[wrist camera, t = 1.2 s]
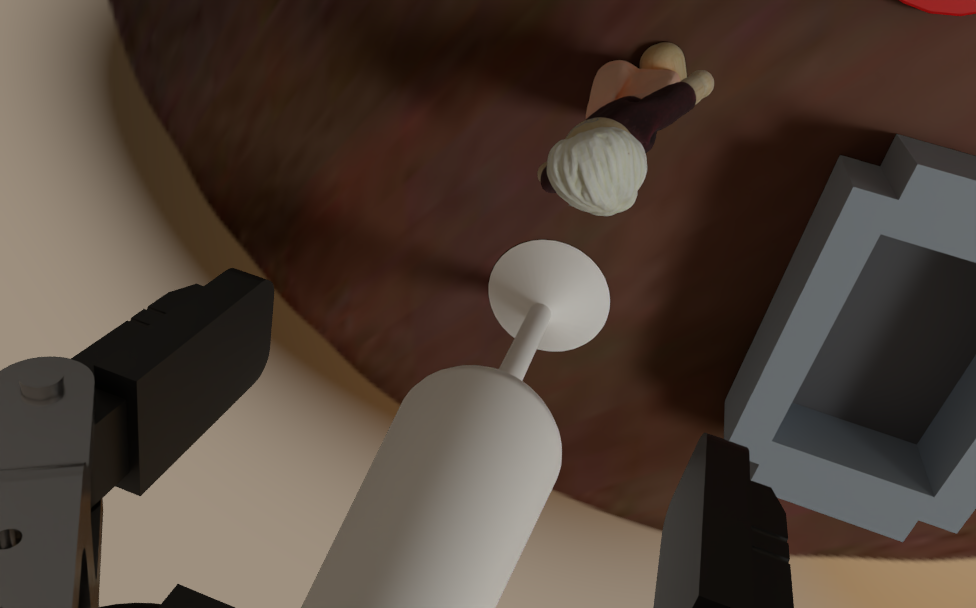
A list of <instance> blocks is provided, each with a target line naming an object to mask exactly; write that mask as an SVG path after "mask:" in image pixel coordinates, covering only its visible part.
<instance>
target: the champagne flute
mask: <svg viewBox="0 0 976 608" xmlns="http://www.w3.org/2000/svg"><path fill="white" fill-rule="evenodd" d="M488 286H489V300H490V305H491V308H492V310H493V312H494V315H495V317H496V318H497V320H498V321H499V323H500V324H501V326H502V327H503V328H504V329H505V330H506V331H507V332H508V333H509V334H510V335H511V336H513V337H514V338H515V339H514V341H513V343H512V345H511V347H510V348H509V350H508V352H507V354H506V356H505V358H504V360H503V362H502V364H501V366H500V368H499V370H498V369H495V368H492V367H486V366H479V365H464V366H457V367H452V368H448V369H443V370H440V371H438V372H435V373H433V374H431V375H429V376H427V377H426V378H425V379H423V380H422V381H421V382H419V383H418V384H417V385H416V386H414V387H413V388H412V389H411V390H410V391H409V393H408V394H407V395H406V397H405V398H404V400H403V402H402V404H401V406H400V408H399V410H398V412H397V414H396V416H395V418H394V420H393V422H392V424H391V426H390V428H389V430H388V432H387V434H386V436H385V438H384V440H383V443H382V444H381V446H380V449H379V450H378V452H377V455H376V457H375V459H374V461H373V463H372V465H371V467H370V469H369V471H368V473H367V475H366V477H365V479H364V481H363V483H362V485H361V487H360V489H359V491H358V493H357V495H356V498H355V499H354V501H353V503H352V505H351V507H350V510H349V512H348V513H347V516H346V518H345V520H344V522H343V524H342V526H341V528H340V530H339V532H338V534H337V536H336V538H335V540H334V542H333V544H332V546H331V548H330V550H329V552H328V554H327V556H326V558H325V560H324V562H323V564H322V567H321V568H320V571H319V572H318V574H317V577H316V579H315V581H314V583H313V585H312V587H311V589H310V591H309V593H308V595H307V597H306V599H305V601H304V603H303V605H302V607H301V608H496V606H497V604H498V602H499V600H500V597H501V595H502V593H503V591H504V589H505V587H506V585H507V583H508V580H509V578H510V576H511V574H512V572H513V570H514V568H515V566H516V563H517V562H518V559H519V557H520V555H521V553H522V551H523V549H524V547H525V545H526V543H527V540H528V538H529V536H530V534H531V532H532V530H533V528H534V526H535V524H536V522H537V520H538V517H539V515H540V513H541V511H542V509H543V507H544V505H545V503H546V501H547V499H548V496H549V494H550V492H551V490H552V488H553V486H554V484H555V482H556V480H557V477H558V474H559V471H560V468H561V458H562V444H561V439H560V434H559V430H558V428H557V425H556V423H555V421H554V418H553V416H552V414H551V412H550V411H549V409H548V407H547V406H546V405H545V403H544V402H543V400H542V399H541V398H540V397H539V395H538V394H537V393H536V392H535V391H534V390H533V389H532V388H531V387H529V386H528V385H527V384H525V383H524V382H523V381H522V380H523V378H524V376H525V373H526V371H527V369H528V367H529V365H530V362H531V360H532V358H533V356H534V354H535V351H536V349H539V350H545V351H566V350H571V349H575V348H577V347H580V346H582V345H584V344H586V343H587V342H589V341H590V340H592V339H593V338H594V337H595V336H596V335H597V334H598V333H599V332H600V331H601V329H602V327H603V326H604V324H605V322H606V320H607V317H608V313H609V309H610V295H609V288H608V286H607V283H606V280H605V277H604V276H603V274H602V272H601V271H600V269H599V268H598V266H597V265H596V264H595V263H594V262H593V261H592V260H591V259H590V258H589V257H588V256H587V255H585V254H584V253H583V252H581V251H580V250H578V249H576V248H574V247H572V246H570V245H568V244H565V243H561V242H558V241H552V240H534V241H529V242H525V243H522V244H519V245H517V246H515V247H513V248H511V249H510V250H509V251H507V252H506V253H505V254H504V255H503V256H502V257H501V258H500V259H499V260H498V262H497V263H496V264H495V266H494V268H493V271H492V273H491V275H490V280H489V285H488Z"/></svg>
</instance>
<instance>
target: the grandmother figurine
mask: <svg viewBox="0 0 976 608" xmlns="http://www.w3.org/2000/svg"><path fill="white" fill-rule="evenodd" d="M639 67H640V69H639V68H637V67H636V66H634V65H633V64H631V63H629V62H627V61H623V60H615V61H611V62H608V63H606V64H605V65H603V66H602V67H601V68H600V69H599V70H598V72H597V74H596V76H595V78H594V81H593V85H592V89H591V93H590V99H589V103H588V106H587V112H586V120H585V121H583V122H581V123H579V124H578V125H577V126H575V127H574V128H573V129H572V130H571V131H570V133H569V134H568V135H567V137H566V139H565V140H561V141H559V142H558V143H557V144H556V145H554V147H553V148H552V149H551V150H550V152H549V155H548V162H546V163H543V164H542V165H541V166H540V167H539V169H538V179H539V181H540V182H541V185H542V188H543V189H544V190H545V191H546V192H549V193H557V194H558V195H559V196H560V197H561V198H563V199H564V200H565V201H567V202H568V203H569V205H570V206H573V207H575V208H577V209H579V210H582V211H586V212H589V213H591V214H593V215H597V216H611V215H614V214H615V213H618V212H622V211H625V210H627V209H628V208H630V207H631V206H632V205H633V204H634V202H635V200H636V197H637V190H638V189H639V188H640V186H641V185H642V183H643V181H644V179H645V176H646V172H647V163H646V161H647V159H646V154H645V153H647V152H648V151H649V150H650V149H651V148H652V147H653V145H654V142H655V138H656V134H657V131H658V130H661V129H663V128H665V127H667V126H669V125H670V124H672V123H673V122H674V121H676V120H677V119H678V118H680V117H681V116H682V115H684V114H686V113H687V112H688V111H690V110H691V109H693V107H694V106H695V105H696V104H697V103H698V102H699V101H700V100H701V99H702V98H704V97H706V96H708V95H709V94H710V93H711V92H712V90H713V88H714V79H713V77H712V75H711V74H710V73H709V72H707V71H705V70H698V71H695V72H693V73H692V74H691V75H690V76H689V77H687V74H686V65H685V59H684V55H683V52H682V51H681V49H680V48H679V47H678V46H677V45H675V44H673V43H669V42H662V43H658V44H655V45H653V46H651V47H649V48H648V49H647V50H646V51H645V52H644V53H643V55H642V56H641V59H640V66H639Z"/></svg>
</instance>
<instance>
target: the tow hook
mask: <svg viewBox="0 0 976 608" xmlns="http://www.w3.org/2000/svg"><path fill="white" fill-rule="evenodd" d="M898 1H900V2H902V3H904V4H907V5H910V6H912V7H915V8H917V9H920V10H922V11H925V12H928V13H932V14H943V15H954V16H963V15H970V14H976V0H898Z"/></svg>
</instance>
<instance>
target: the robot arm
mask: <svg viewBox="0 0 976 608" xmlns="http://www.w3.org/2000/svg"><path fill="white" fill-rule="evenodd" d="M273 301H274V287H273V284H272V282H271V281H269V280H266V279H263V278H261V277H258V276H255V275H252V274H249V273H246V272H243V271H240V270H237V269H234V268H230V269H228V270H226V271H225V272H223V273H222V274H220V275H219V276H218V277H216V278H215V279H214V280H212V281H211V282H209V283H208V284H207V285H205V286H201V285H199V284H195V285H191V286H188V287H185V288H181V289H178V290H175V291H172V292H168V293H167V294H166V295H164V296H163V297H161V298H160V299H158V300H157V301H155V302H154V303H152V304H151V305H149V306H148V309H147V310H145V309H143V310H142V311H141V312H139V313H138V314H136V315H135V316H133V317H132V318H131V321H126V322H125V323H123V324H122V325H120V326H119V327H117V328H116V329H114V330H113V331H111V332H110V333H108V334H107V335H105V336H104V337H102V338H101V339H99V340H98V341H96V342H95V343H94V344H92V345H91V346H89V347H88V348H86V349H85V350H83V351H82V352H80V353H79V354H77V355H76V356H74V357H73V358H71V359H68V358H62V357H37V358H32V359H27V360H23V361H20V362H17V363H15V364H12V365H10V366H8V367H6V368H4V369H3V370H1V371H0V608H235V607H232V606H230V605H227V604H225V603H223V602H220V601H218V600H215V599H213V598H211V597H208V596H206V595H203V594H201V593H199V592H196V591H194V590H191V589H189V588H187V587H184V586H182V585H179V584H177V586H176V587H175V588H174V589H173V590H172V592H171V593H170V594H169V595H168V597H167V598H166V599H165V600H164V601H163V603H162V604H154V603H128V604H115V605H109V606H104V607H99V584H100V563H101V543H102V522H103V500H102V498H103V497H104V496H105V495H106V494H107V493H108V492H109V491H110V490H111V489H112V488H113V487H114V486H116V487H119V488H122V489H124V490H126V491H129V492H131V493H134V494H136V495H139V496H141V495H142V494H143V493H144V492H145V491H146V490H147V489H148V488H149V487H150V486H151V485H152V484H153V483H154V482H155V481H156V480H157V479H158V478H159V477H160V476H161V475H162V474H163V473H164V472H165V471H166V470H167V469H168V468H169V467H170V466H171V465H172V464H173V463H174V462H175V461H176V460H177V459H178V458H179V457H180V456H181V455H182V454H183V453H184V452H185V451H187V450H188V449H189V447H191V445H193V443H195V442H196V441H197V439H199V438H200V437H201V436H202V435H203V434H204V433H205V432H206V431H207V430H208V429H209V428H210V427H211V426H212V425H213V424H214V423H215V422H216V421H217V420H218V419H219V418H220V417H221V416H222V415H223V414H224V413H225V412H226V411H227V410H228V409H229V408H230V407H231V406H232V405H233V404H234V403H235V402H236V401H237V400H238V399H239V398H240V397H241V396H242V395H243V394H244V393H245V392H246V391H247V390H248V389H249V388H250V387H251V386H252V385H253V384H254V383H255V382H256V380H258V378H259V377H260V375H261V373H262V372H263V370H264V368H265V365H266V363H267V360H268V356H269V350H270V340H271V327H272V314H273ZM787 540H788V533H787V521H786V513H785V511H784V509H783V508H782V506H781V504H780V502H779V500H778V499H777V497H776V495H775V493H774V491H773V490H772V488H771V487H768V486H766V485H763V484H760V483H757V482H754V481H751V480H750V454H749V449H748V447H745V446H742V445H739V444H736V443H734V442H731V441H728V440H725V439H722V438H719V437H716V436H713V435H710V434H708V433H704V434H703V435H702V436H701V438H700V439H699V441H698V443H697V445H696V448H695V450H694V452H693V454H692V456H691V458H690V461H689V463H688V465H687V467H686V469H685V471H684V474H683V476H682V478H681V480H680V482H679V484H678V487H677V489H676V491H675V493H674V495H673V498H672V500H671V502H670V505H669V508H668V511H667V514H666V518H665V522H664V526H663V531H662V539H661V548H660V557H659V565H658V573H657V582H656V592H655V599H654V608H794V604H793V593H792V581H791V570H790V564H788V562H789V559H790V557H789V545H788V543H787Z"/></svg>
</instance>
